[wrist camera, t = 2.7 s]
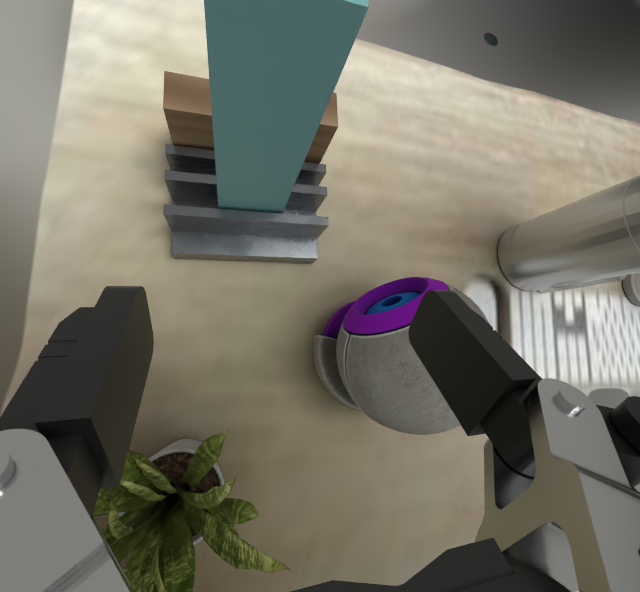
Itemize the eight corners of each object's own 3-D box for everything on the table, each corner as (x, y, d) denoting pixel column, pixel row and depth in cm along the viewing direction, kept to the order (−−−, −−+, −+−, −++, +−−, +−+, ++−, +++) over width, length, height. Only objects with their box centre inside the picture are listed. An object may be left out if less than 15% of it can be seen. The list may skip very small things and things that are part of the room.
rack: (312, 263, 35) (329, 247, 29) (174, 258, 31) (162, 239, 25) (308, 146, 37) (323, 110, 31) (178, 128, 33) (167, 82, 27)
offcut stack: (310, 181, 34) (337, 126, 25) (179, 167, 30) (160, 97, 22) (309, 155, 34) (336, 93, 26) (180, 138, 31) (161, 59, 22)
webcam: (385, 275, 37) (484, 232, 23) (438, 369, 37) (569, 384, 23) (292, 331, 33) (341, 321, 19) (352, 436, 33) (445, 505, 19)
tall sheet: (276, 226, 32) (368, 7, 11) (219, 222, 31) (201, -41, 10) (276, 211, 32) (365, -31, 11) (219, 207, 31) (202, -84, 10)
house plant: (35, 479, 25) (-266, 692, 10) (172, 352, 30) (111, 361, 14) (167, 588, 27) (84, 925, 11) (280, 452, 31) (333, 561, 15)
